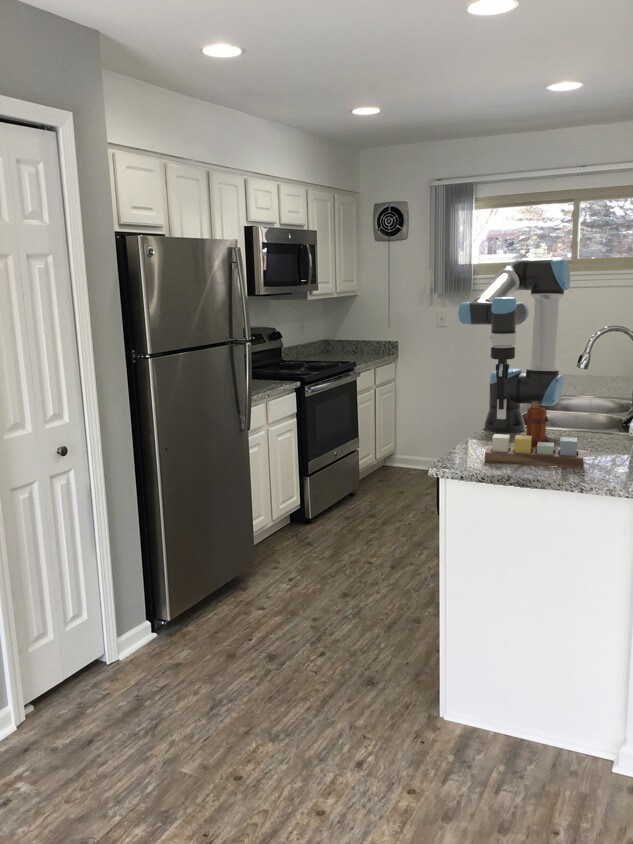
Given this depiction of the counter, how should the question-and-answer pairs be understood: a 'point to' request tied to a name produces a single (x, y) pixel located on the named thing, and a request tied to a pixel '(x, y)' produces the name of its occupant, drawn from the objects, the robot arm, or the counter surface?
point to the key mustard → (523, 444)
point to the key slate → (568, 446)
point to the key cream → (500, 443)
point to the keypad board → (534, 458)
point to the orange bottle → (536, 424)
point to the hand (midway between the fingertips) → (501, 418)
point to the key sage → (545, 448)
